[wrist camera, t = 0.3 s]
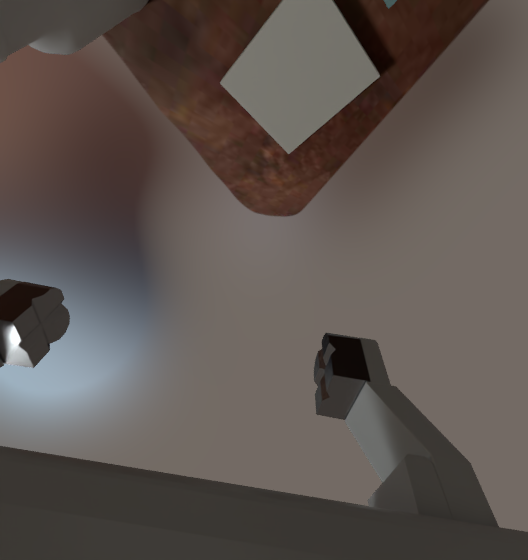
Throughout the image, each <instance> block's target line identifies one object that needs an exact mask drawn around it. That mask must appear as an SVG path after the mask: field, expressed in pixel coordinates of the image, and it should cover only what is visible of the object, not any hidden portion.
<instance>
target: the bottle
mask: <svg viewBox="0 0 528 560" xmlns="http://www.w3.org/2000/svg"><path fill="white" fill-rule="evenodd" d="M148 1H149V0H0V63H1V62H3V61H5V60H6V59H7V56H8V55H10V54H12V53H14V52H16V51H18V50H19V49H21V48H23V47H25V46H27V45H30V46H31V47H32V48H35V49H37V50H39V51H41V52H44V53H51V54H64V55H66V54H67V55H69V54H72V53H74V52H76V51H79V50H80V49H82V48H83V47H85V46H86V45H87V44H89V43H90V42H92V41H93V40H95V39H96V38H98V37H99V36H101V35H102V34H104V33H105V32H107V31H108V30H110V29H111V28H113V27H114V26H116V25H117V24H119V23H120V22H122V21H123V20H124V19H126V18H127V17H129V16H130V15H132V14H133V13H135V12H138V11H140V10H141V9H142V8H143V7H144V6H145V5H146V4H147V2H148Z"/></svg>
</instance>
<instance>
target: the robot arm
mask: <svg viewBox="0 0 528 560" xmlns="http://www.w3.org/2000/svg"><path fill="white" fill-rule="evenodd" d="M63 300H64V296H63V294H62V291H61V290H60V289H57V288H54V287H48V286H44V285H38V284H33V283H28V282H21V281H15V280H11V279H5V280H1V281H0V367H2V366H4V364H10V365H17V366H25V367H32V368H34V367H35V366H36V365H37V364H38V363H39V361H40V360H41V359H42V358H43V357H44V356H45V355H46V354H47V353H48V352H49V350H50V343H52V342H55V341H57V340H59V339H60V338H61V337H62V336H63V335H64V333H65V332H66V330H67V328H68V325H69V319H70V318H69V317H70V316H69V312H68V310H67V309H66V308H65V307H64V306H63V305H62V304H61V303H62V301H63ZM314 381H315V383H316V384H317V385H318V388H317V390H316V393H315V400H316V414H317V415H322V416H328V417H333V418H338V419H343V420H345V423H346V424H347V426H348V427H349V429H350V431H351V432H352V434H353V436H354V437H355V439H356V440H357V442H358V444H359V445H360V447H361V448H362V450H363V452H364V454H365V455H366V457H367V458H368V460H369V461H370V463H371V465H372V466H373V468H374V470H375V471H376V473H377V474H378V476H379V478H380V479H381V481H382V484H381V485H380V487H379V488H378V489H377V490H376V491H375V492H374V494H373V495H372V496H371V497H370V498H369V499H368V504H369V506H364V505H358V504H352V503H346V502H340V501H334V500H328V499H321V498H315V497H309V496H303V495H297V494H291V493H285V492H278V491H272V490H266V489H260V488H254V487H248V486H242V485H236V484H229V483H224V482H218V481H211V480H205V479H199V478H193V477H186V476H181V475H175V474H168V473H163V472H156V471H150V470H144V469H138V468H132V467H125V466H120V465H113V464H107V463H101V462H95V461H89V460H83V459H77V458H71V457H65V456H59V455H52V454H46V453H39V452H34V451H28V450H22V449H15V448H10V447H3V446H0V560H528V532H524V531H517V530H512V529H505V528H500V527H499V526H498V524H497V522H496V519H495V517H494V515H493V513H492V510H491V508H490V506H489V504H488V502H487V499H486V497H485V495H484V492H483V491H482V488H481V486H480V484H479V481H478V479H477V477H476V475H475V472H474V470H473V468H472V466H471V463H470V462H469V461H468V460H467V459H466V458H465V457H464V456H463V455H462V454H461V453H460V452H459V451H458V450H457V449H456V448H455V447H454V446H453V445H452V444H451V443H450V442H449V441H448V439H447V438H446V437H444V435H443V434H442V433H441V432H440V431H439V430H438V429H437V428H436V427H435V426H434V425H433V424H432V423H431V422H430V421H429V420H428V419H427V418H426V417H425V416H424V415H423V414H422V413H421V412H420V411H419V410H418V409H417V408H416V407H415V406H414V405H413V404H412V403H411V401H410V400H409V399H408V398H407V397H406V396H404V394H403V393H402V392H401V391H400V390H399V389H398V388H397V387H395V386H391V384H390V381H389V378H388V375H387V372H386V369H385V365H384V362H383V359H382V356H381V353H380V349H379V346H378V343H377V342H376V341H375V340H371V339H364V338H357V337H350V336H343V335H338V334H331V333H326V334H325V335H324V337H323V339H322V349H321V350H320V351H318V353H317V357H316V361H315V367H314Z"/></svg>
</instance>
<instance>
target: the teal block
mask: <svg viewBox="0 0 528 560" xmlns="http://www.w3.org/2000/svg"><path fill="white" fill-rule="evenodd" d="M396 1H397V0H384V2H385V3H386V5H387V7H388V9H389V8H390V7H391V6H392V5H393V4H394V3H395V2H396Z"/></svg>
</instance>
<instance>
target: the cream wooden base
mask: <svg viewBox="0 0 528 560" xmlns="http://www.w3.org/2000/svg"><path fill="white" fill-rule="evenodd" d="M379 77H380V75H379V72H378V70H377V69H376V67H375V65H374V64H373V62H372V61H371V59H370V57H369V56H368V54H367V53H366V51H365V49H364V48H363V46H362V45H361V43H360V41H359V40H358V38H357V37H356V35H355V33H354V32H353V30H352V29H351V27H350V25H349V24H348V22H347V21H346V19H345V18H344V16H343V14H342V13H341V11H340V10H339V8H338V6H337V5H336V3H335V2H334V0H282V1H281V2H280V4H279V5H278V6H277V8H276V9H275V10H274V12H273V13H272V14H271V15H270V17H269V18H268V19H267V21H266V22H265V23H264V25H263V26H262V27H261V29H260V30H259V31H258V33H257V34H256V35H255V36H254V38H253V39H252V40H251V42H250V43H249V44H248V46H247V47H246V48H245V50H244V51H243V52H242V53H241V55H240V56H239V57H238V59H237V60H236V61H235V63H234V64H233V65H232V67H231V68H230V69H229V71H228V72H227V73H226V74H225V76H224V77H223V78H222V80H221V82H220V84H221V85H222V86H223V87H224V88H225V89H226V90H227V91H228V92H229V93H230V94H231V95H232V96H233V97H234V98H235V99H236V100H237V101H238V102H239V103H240V104H241V105H242V106H243V107H244V108H245V110H246V111H247V112H248V113H249V114H250V115H251V116H252V117H253V118H254V119H255V120H256V121H257V122H258V123H259V124H260V125H261V126H262V127H263V128H264V129H265V130H266V131H267V132H268V133H269V134H270V135H271V136H272V137H273V138H274V140H275V141H276V142H277V143H278V144H279V145H280V146H281V147H282V148H283V149H284V150H285V151H286V152H287V153H288V154H290V153H291V152H292V151H293V150H294V149H295V148H297V147H298V146H299V145H300V144H301V143H302V142H304V141H305V140H306V139H307V138H308V137H309V136H311V135H312V134H313V133H314V132H315V131H317V130H318V129H319V128H320V127H321V126H322V125H324V124H325V123H326V122H327V121H328V120H329V119H331V118H332V117H333V116H334V115H335V114H336V113H338V112H339V111H340V110H341V109H342V108H343V107H345V106H346V105H347V104H348V103H349V102H350V101H352V100H353V99H354V98H355V97H356V96H357V95H359V94H360V93H361V92H362V91H363V90H365V89H366V88H367V87H368V86H369V85H370V84H372V83H373V82H374V81H375V80H376V79H377V78H379Z"/></svg>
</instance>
